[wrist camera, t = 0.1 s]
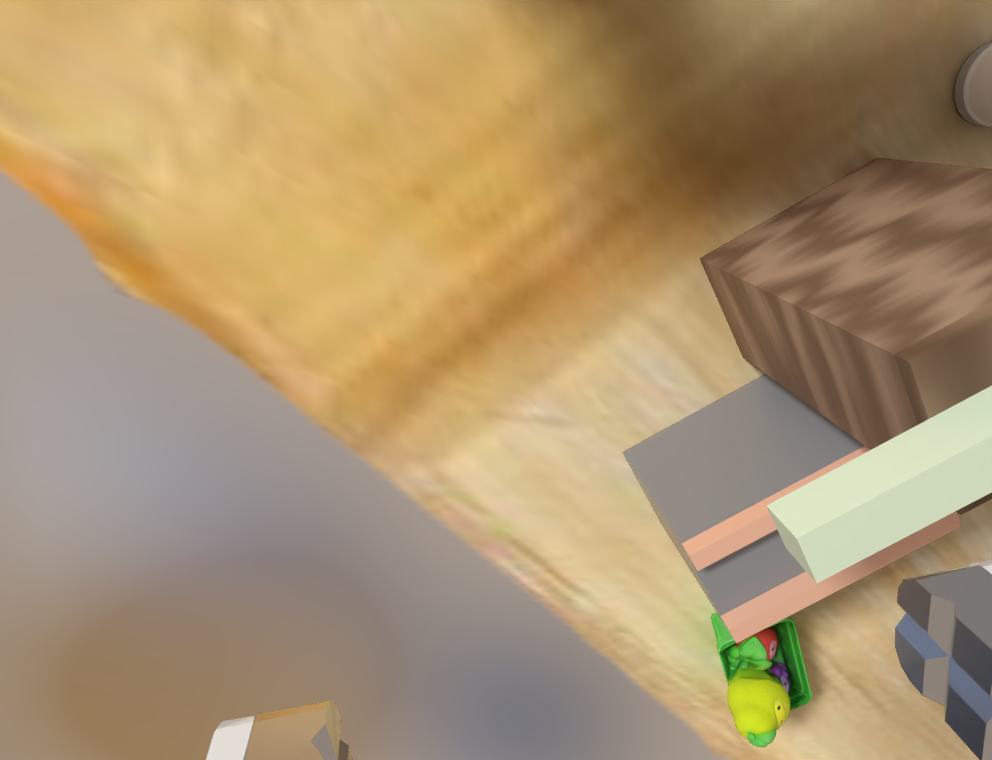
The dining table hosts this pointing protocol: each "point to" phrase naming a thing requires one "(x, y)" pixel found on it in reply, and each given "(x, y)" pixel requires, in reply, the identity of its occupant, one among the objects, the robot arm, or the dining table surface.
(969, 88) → the travel mug
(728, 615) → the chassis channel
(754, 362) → the walnut stand
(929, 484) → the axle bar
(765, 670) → the fruit basket
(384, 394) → the dining table surface
